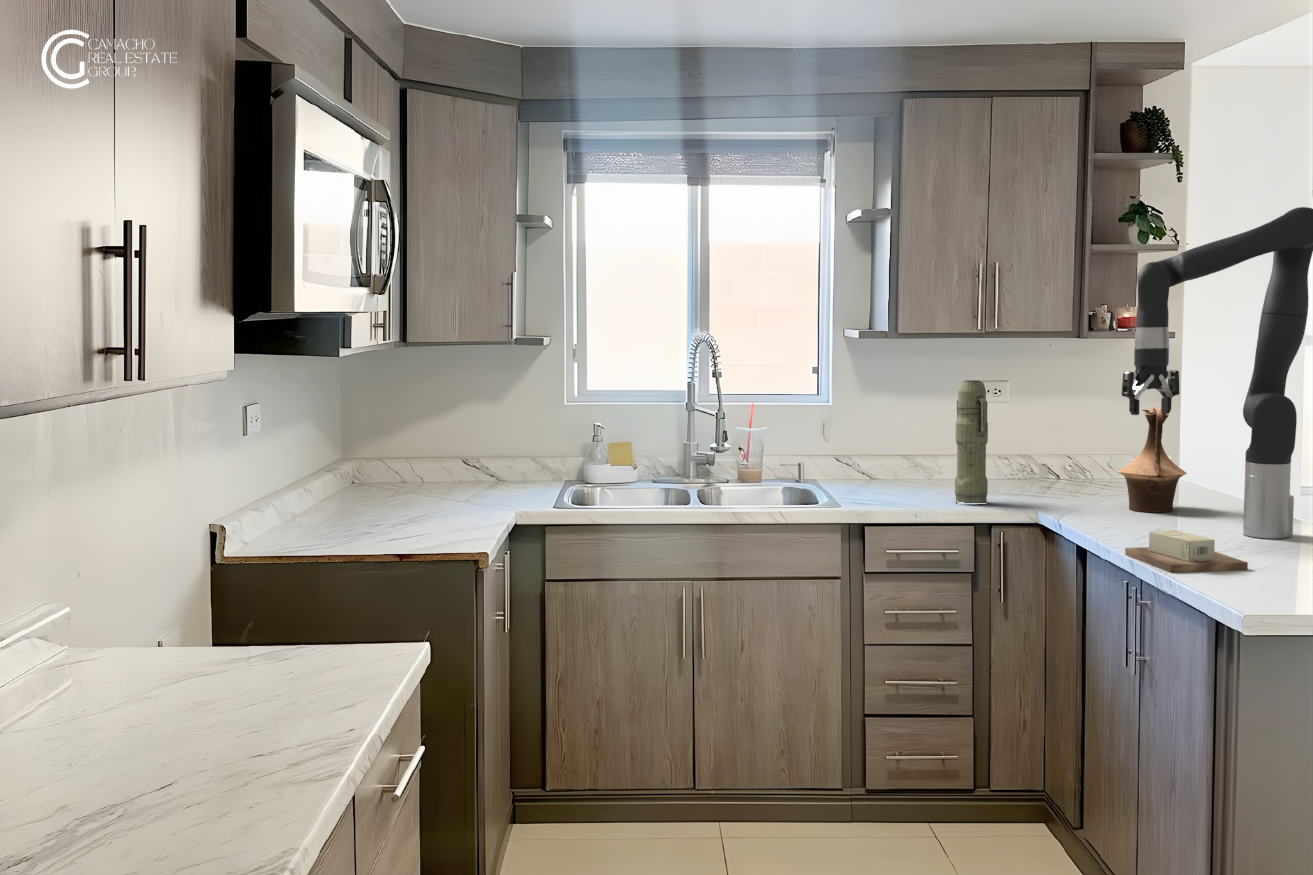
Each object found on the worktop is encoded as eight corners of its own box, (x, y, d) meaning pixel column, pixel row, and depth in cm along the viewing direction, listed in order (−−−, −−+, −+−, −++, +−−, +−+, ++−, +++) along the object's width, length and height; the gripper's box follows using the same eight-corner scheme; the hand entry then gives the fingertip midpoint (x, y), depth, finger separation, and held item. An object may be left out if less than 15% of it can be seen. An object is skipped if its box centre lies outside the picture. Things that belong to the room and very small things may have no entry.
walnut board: (1196, 552, 234) (1196, 545, 234) (1247, 569, 216) (1247, 562, 216) (1125, 554, 233) (1125, 547, 233) (1170, 572, 215) (1170, 564, 215)
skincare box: (1189, 541, 217) (1148, 530, 229) (1189, 563, 217) (1147, 551, 229) (1216, 539, 218) (1173, 528, 230) (1215, 560, 219) (1172, 549, 231)
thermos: (967, 499, 316) (968, 379, 313) (997, 504, 306) (998, 380, 303) (944, 501, 312) (945, 380, 309) (973, 506, 302) (975, 381, 299)
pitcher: (1194, 515, 281) (1197, 408, 278) (1124, 514, 284) (1126, 408, 282) (1176, 505, 298) (1178, 404, 296) (1110, 504, 301) (1112, 404, 299)
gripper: (1166, 346, 264) (1164, 412, 265) (1115, 347, 260) (1114, 414, 262) (1188, 346, 256) (1186, 414, 258) (1136, 347, 253) (1134, 416, 254)
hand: (1150, 414), depth 260 cm, fingers open, 8 cm apart
